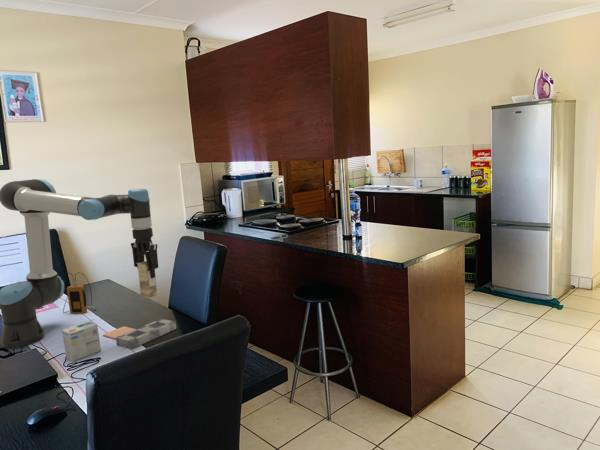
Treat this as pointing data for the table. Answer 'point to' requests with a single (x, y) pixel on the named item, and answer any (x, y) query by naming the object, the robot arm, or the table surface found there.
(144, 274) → the peg
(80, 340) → the light bulb box
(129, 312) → the table surface
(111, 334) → the pad
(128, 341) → the rail
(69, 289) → the multimeter
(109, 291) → the table surface
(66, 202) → the robot arm
